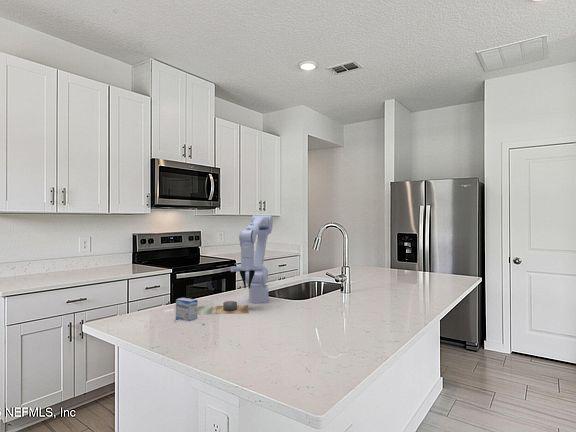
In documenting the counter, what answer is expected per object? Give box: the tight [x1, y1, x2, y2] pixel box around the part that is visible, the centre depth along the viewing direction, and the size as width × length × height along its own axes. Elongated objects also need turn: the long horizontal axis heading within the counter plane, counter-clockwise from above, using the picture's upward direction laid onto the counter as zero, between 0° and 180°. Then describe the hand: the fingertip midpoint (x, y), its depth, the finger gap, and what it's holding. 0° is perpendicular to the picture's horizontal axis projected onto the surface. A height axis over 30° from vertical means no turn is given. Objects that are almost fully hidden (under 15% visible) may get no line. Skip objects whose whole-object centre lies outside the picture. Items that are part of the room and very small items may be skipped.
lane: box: [197, 304, 249, 316], centre depth 165 cm, size 28×14×1 cm, turn 97°
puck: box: [222, 300, 238, 311], centre depth 166 cm, size 6×6×3 cm
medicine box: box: [175, 297, 199, 322], centre depth 152 cm, size 8×4×9 cm, turn 62°
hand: (247, 287), depth 167 cm, fingers closed
